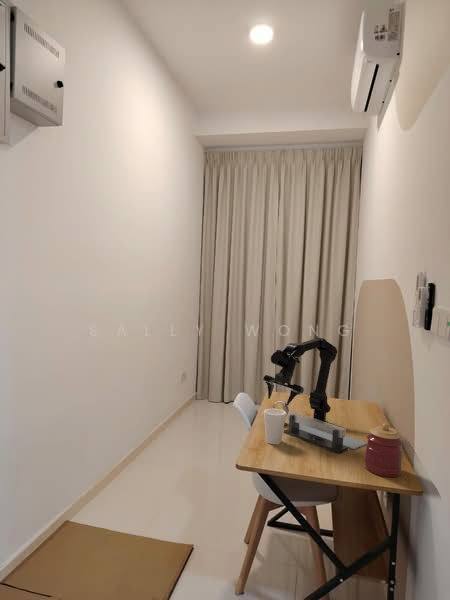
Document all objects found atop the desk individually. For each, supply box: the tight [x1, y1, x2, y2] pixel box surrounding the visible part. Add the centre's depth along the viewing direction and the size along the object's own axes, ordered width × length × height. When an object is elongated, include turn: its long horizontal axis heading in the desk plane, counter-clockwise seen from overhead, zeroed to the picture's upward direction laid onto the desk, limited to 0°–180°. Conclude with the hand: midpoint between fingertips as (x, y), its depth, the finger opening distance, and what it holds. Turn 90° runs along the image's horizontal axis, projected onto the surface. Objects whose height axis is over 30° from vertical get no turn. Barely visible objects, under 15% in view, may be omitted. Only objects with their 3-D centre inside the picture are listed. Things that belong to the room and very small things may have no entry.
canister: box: [364, 422, 404, 478], centre depth 151 cm, size 13×13×18 cm
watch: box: [272, 400, 290, 424], centre depth 199 cm, size 6×8×11 cm
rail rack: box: [283, 415, 349, 455], centre depth 178 cm, size 7×29×8 cm, turn 42°
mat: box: [299, 424, 367, 451], centre depth 185 cm, size 11×32×1 cm, turn 42°
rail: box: [287, 411, 347, 438], centre depth 178 cm, size 3×28×3 cm, turn 42°
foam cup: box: [263, 408, 287, 445], centre depth 175 cm, size 10×9×13 cm
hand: (277, 402), depth 186 cm, fingers open, 9 cm apart
